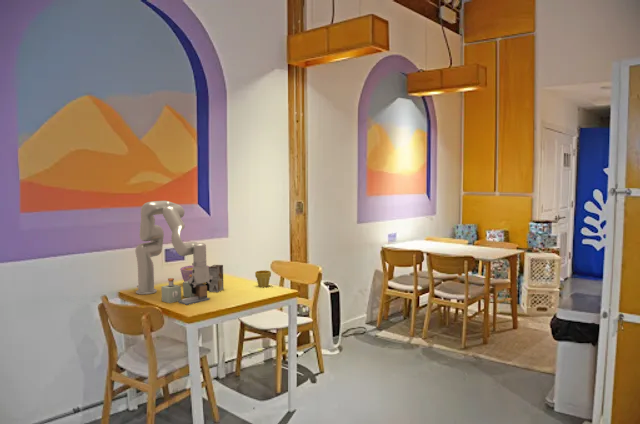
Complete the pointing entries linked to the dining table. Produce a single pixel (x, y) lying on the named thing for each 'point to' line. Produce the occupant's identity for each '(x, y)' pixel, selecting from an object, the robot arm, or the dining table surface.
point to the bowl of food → (187, 272)
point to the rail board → (192, 300)
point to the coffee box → (216, 278)
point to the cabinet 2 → (187, 290)
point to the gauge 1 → (171, 282)
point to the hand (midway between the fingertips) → (200, 292)
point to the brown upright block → (201, 291)
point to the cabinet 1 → (171, 293)
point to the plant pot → (263, 278)
